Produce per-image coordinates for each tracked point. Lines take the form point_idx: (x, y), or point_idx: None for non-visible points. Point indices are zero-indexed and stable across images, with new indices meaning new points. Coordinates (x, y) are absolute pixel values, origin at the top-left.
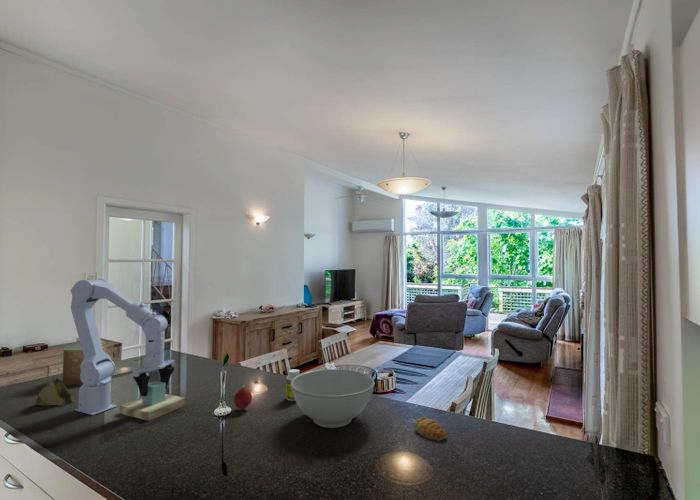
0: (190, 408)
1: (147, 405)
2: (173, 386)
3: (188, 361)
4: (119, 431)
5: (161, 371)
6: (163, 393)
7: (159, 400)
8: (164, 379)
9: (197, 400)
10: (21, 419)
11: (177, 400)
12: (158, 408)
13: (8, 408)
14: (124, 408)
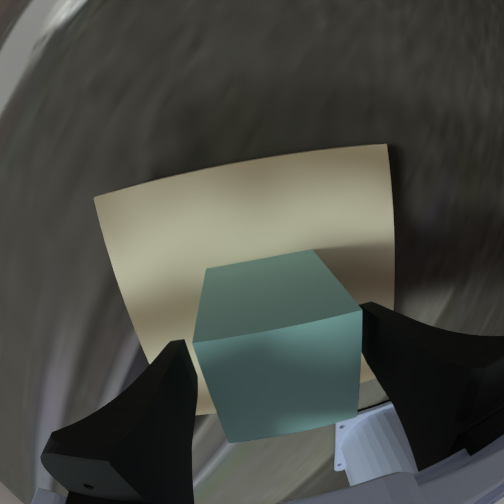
0: (121, 118)
1: None
2: None
3: (32, 498)
4: (471, 162)
5: (182, 496)
6: (222, 288)
7: (256, 265)
8: (172, 408)
9: (42, 209)
10: None
11: (151, 196)
12: (318, 160)
13: None
14: None
